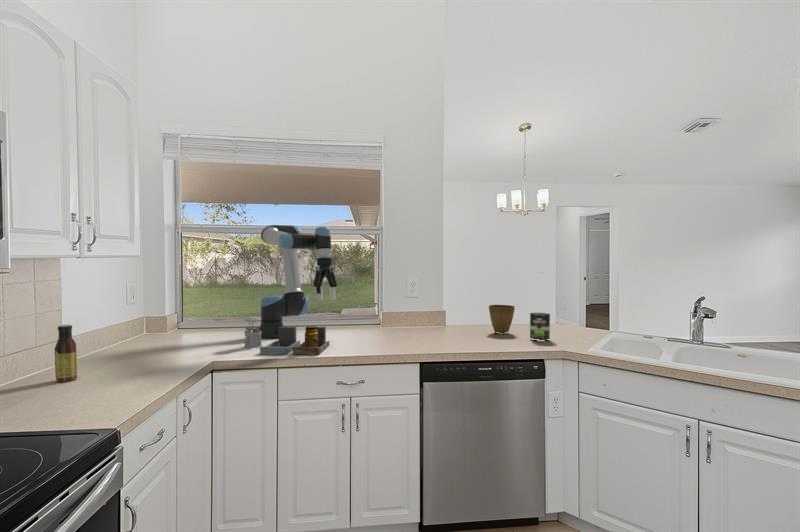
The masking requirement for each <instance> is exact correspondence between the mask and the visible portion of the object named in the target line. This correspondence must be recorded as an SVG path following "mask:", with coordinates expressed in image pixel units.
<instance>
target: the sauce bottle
mask: <svg viewBox="0 0 800 532" xmlns="http://www.w3.org/2000/svg"><path fill="white" fill-rule="evenodd" d="M57 331H58V339H57V342H56V344H55V347H54V367H55V380H56V382H57V383H65V382H66V383H69V382H72V381H75V380H76V379H77V378H78V354H77V353H78V351H77V350H78V349H77V343H76V341H75V340H74V339H73V334H72V331H73V325H72V324H61V325H58V326H57Z"/></svg>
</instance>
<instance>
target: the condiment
mask: <svg viewBox="0 0 800 532" xmlns="http://www.w3.org/2000/svg"><path fill="white" fill-rule="evenodd" d="M317 327H318V326H317V325H310V326H309V325H308V326H306V327H305V330H304V331H305V332H304V342H305V347H319V346H318V332H317Z"/></svg>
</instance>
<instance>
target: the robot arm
mask: <svg viewBox="0 0 800 532" xmlns="http://www.w3.org/2000/svg"><path fill="white" fill-rule="evenodd" d="M331 235H332V234H331V228H330V227H328V226H319V227H315V231H314V234H306V233H305V234H303V232H302V230H301V228H300V227H299V226H296V225H292V224H291V225H282V224H271V225H267V226H265V227H264V228H263V229H262V230H261V232H260V238H261V240H262V241H263V242H264V243H265V244H267V245H272V246H273V245H275V246H276V245H277V246H279V250H280V251H282V259H283V260H282V261H283V270H284V272H283V273H284V281H285V282H284V283H285V292H283V294H281V293H277V294H270V295H264V296H263V297H261V299H260V319H261V321H260V325H259V327H260V329H258V330H261V335H260V336H261V339H263V338H272V339H279V338H278V337H279V332H278V328H279V327H281V326H284V323H283V318H286V317H299V316H304V315H305V314H306V313H307V312H308V309H309V305H310V300H309V296H308V295H306V294H305V291H304V290H302V286H301V284H302V283H301V274H300V264H299V255H298V250H310V251H315V252H316V258H317V259H316V268H315V274H314V280H313V287H314V288H316V300H317V302H318V301H324V300H323V299H324V296H323V295H324V294H323V286H322V284H323V281H324V279H326V280H327V283H328V285H329V301H336V298H337V297H336V287H337V286H338V283H337V279H336V276H335V273H334V268H333V267H330V266H333V258H332V256H333V254H332V252H333V251H332V237H331ZM337 288H338V287H337Z"/></svg>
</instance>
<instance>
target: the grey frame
mask: <svg viewBox="0 0 800 532" xmlns="http://www.w3.org/2000/svg"><path fill="white" fill-rule="evenodd" d="M278 332H279V338H278V339H277V340H275V341H273V342H271V343H269V344H267V345H266V346H264V345H262V346H261V347H260V348H259V354H260V355H261V354H262V355H264V354H265V355H287V354H289V353H290V352H291V351H292V348H293V347H297V346H299V345H300V344H301V340H297V326H286V325H283V326H281V327H279V328H278Z"/></svg>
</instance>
